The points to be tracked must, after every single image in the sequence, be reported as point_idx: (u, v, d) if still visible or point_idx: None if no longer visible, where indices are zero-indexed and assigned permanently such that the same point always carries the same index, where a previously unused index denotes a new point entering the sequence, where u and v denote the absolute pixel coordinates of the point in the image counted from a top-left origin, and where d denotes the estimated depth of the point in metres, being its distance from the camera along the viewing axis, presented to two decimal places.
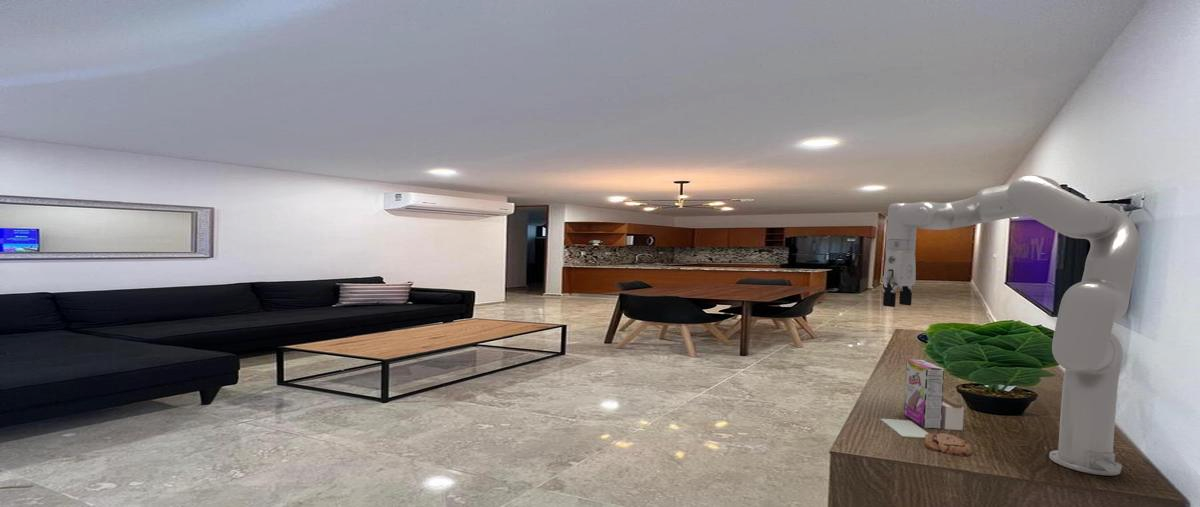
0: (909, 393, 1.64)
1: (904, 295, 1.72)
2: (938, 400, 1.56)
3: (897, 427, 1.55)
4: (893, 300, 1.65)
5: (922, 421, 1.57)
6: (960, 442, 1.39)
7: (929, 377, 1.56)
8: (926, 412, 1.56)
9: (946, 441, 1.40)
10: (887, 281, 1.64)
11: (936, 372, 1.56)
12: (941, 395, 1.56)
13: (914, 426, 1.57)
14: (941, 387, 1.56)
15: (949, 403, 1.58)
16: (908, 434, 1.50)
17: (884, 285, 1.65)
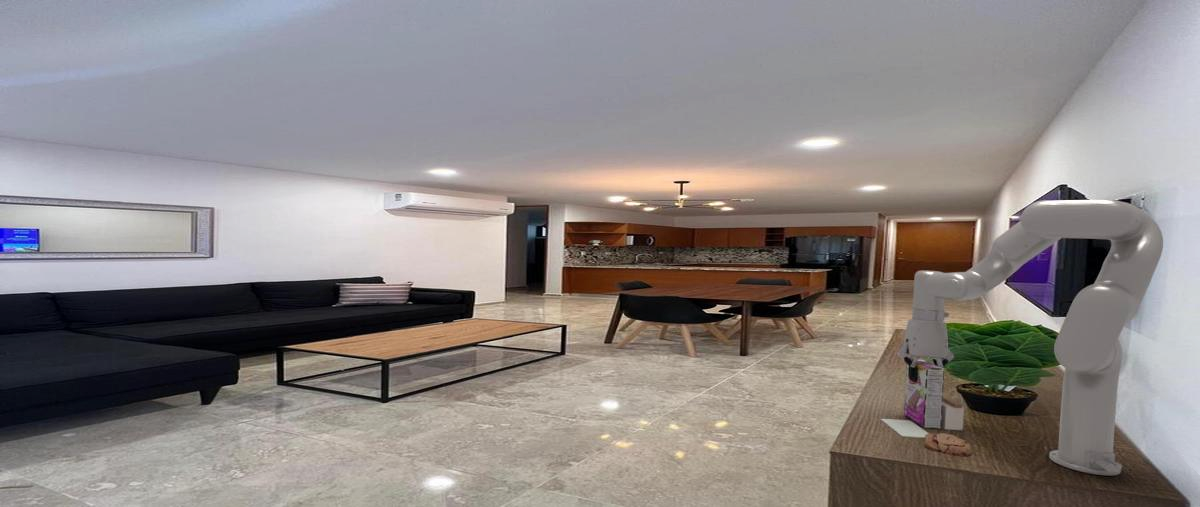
0: (909, 393, 1.64)
1: None
2: (938, 400, 1.56)
3: (897, 427, 1.55)
4: None
5: (922, 421, 1.57)
6: (960, 442, 1.39)
7: (929, 377, 1.56)
8: (926, 412, 1.56)
9: (946, 441, 1.40)
10: None
11: (936, 372, 1.56)
12: (941, 395, 1.56)
13: (914, 426, 1.57)
14: (941, 387, 1.56)
15: (949, 403, 1.58)
16: (908, 434, 1.50)
17: None
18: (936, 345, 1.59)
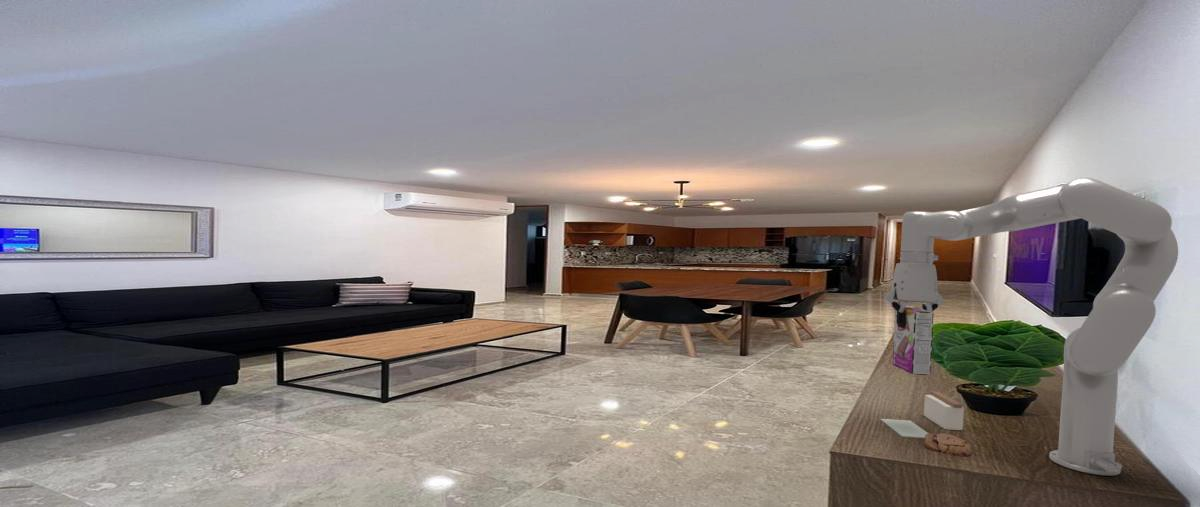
0: (898, 340, 1.57)
1: None
2: (928, 345, 1.49)
3: (897, 427, 1.55)
4: None
5: (911, 367, 1.50)
6: (960, 442, 1.39)
7: (918, 321, 1.49)
8: (914, 358, 1.49)
9: (946, 441, 1.40)
10: None
11: (925, 315, 1.49)
12: (930, 340, 1.49)
13: (914, 426, 1.57)
14: (930, 331, 1.49)
15: (949, 403, 1.58)
16: (908, 434, 1.50)
17: None
18: (925, 288, 1.52)
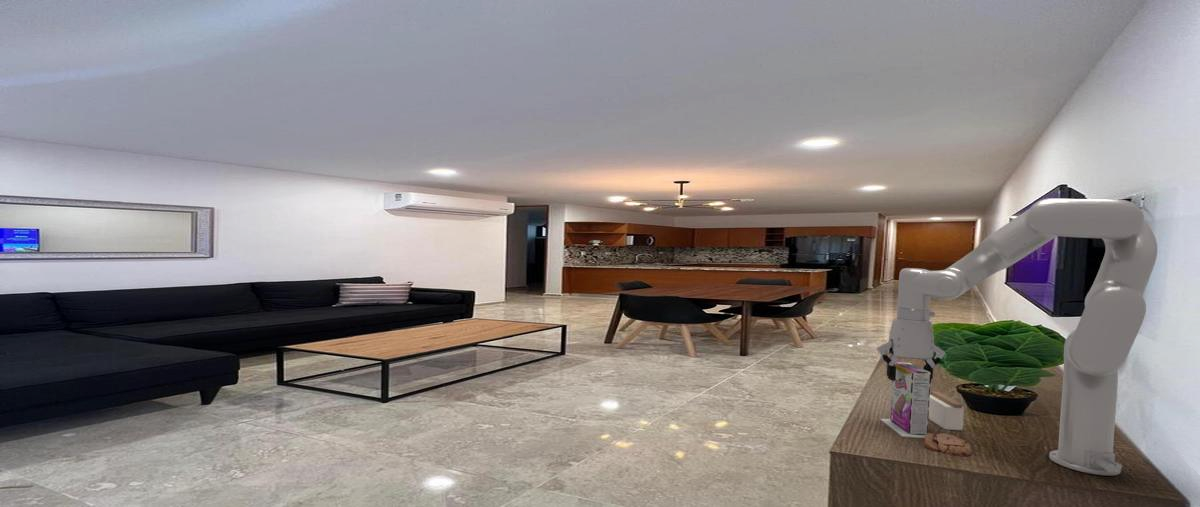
0: (896, 397, 1.57)
1: None
2: (925, 405, 1.49)
3: (897, 427, 1.55)
4: None
5: (908, 427, 1.51)
6: (960, 442, 1.39)
7: (915, 381, 1.49)
8: (911, 417, 1.50)
9: (946, 441, 1.40)
10: None
11: (922, 376, 1.49)
12: (927, 400, 1.49)
13: None
14: (927, 391, 1.49)
15: (949, 403, 1.58)
16: (908, 434, 1.50)
17: None
18: (921, 346, 1.52)
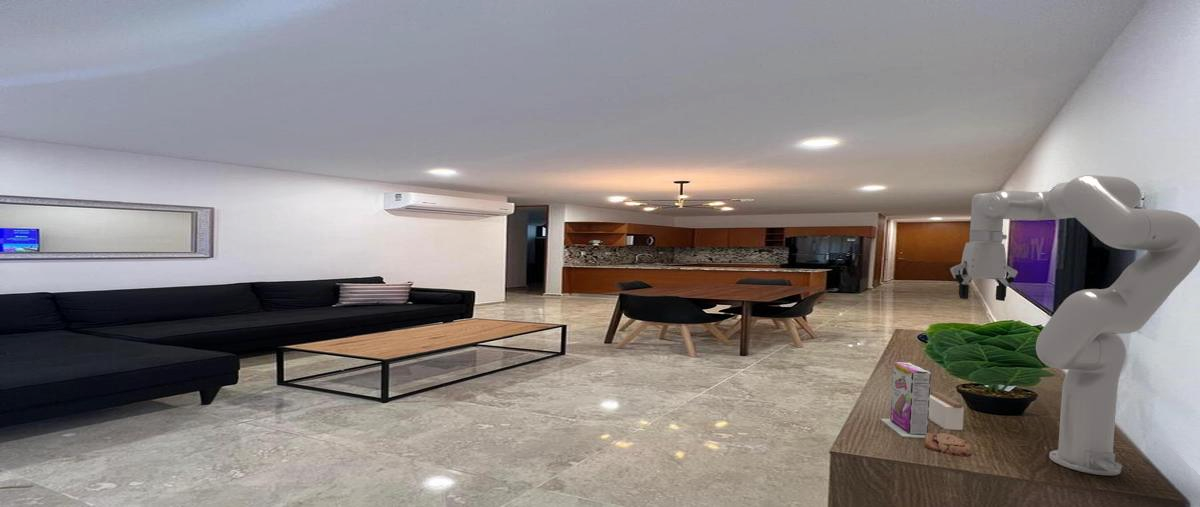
0: (896, 397, 1.57)
1: None
2: (925, 405, 1.49)
3: (897, 427, 1.55)
4: None
5: (908, 427, 1.51)
6: (960, 442, 1.39)
7: (915, 381, 1.49)
8: (911, 417, 1.50)
9: (946, 441, 1.40)
10: None
11: (922, 376, 1.49)
12: (927, 400, 1.49)
13: None
14: (927, 391, 1.49)
15: (949, 403, 1.58)
16: (908, 434, 1.50)
17: None
18: (995, 266, 1.61)
